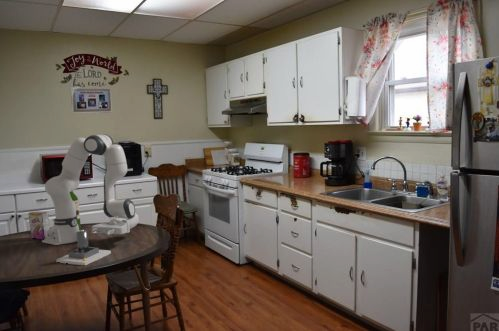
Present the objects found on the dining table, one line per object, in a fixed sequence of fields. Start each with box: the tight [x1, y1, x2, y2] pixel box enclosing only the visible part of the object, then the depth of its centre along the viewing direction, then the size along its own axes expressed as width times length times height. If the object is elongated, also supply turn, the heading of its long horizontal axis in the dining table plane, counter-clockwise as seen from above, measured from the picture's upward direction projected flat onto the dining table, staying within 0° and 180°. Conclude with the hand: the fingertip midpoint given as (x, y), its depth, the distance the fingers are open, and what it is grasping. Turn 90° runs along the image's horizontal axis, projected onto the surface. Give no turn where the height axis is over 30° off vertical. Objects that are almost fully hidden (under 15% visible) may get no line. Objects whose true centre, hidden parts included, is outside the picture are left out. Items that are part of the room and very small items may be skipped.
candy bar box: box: [27, 210, 51, 240], centre depth 242 cm, size 11×5×16 cm, turn 71°
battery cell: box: [76, 229, 90, 253], centre depth 201 cm, size 5×5×13 cm
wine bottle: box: [70, 191, 82, 230], centre depth 260 cm, size 9×9×32 cm
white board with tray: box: [55, 246, 112, 266], centre depth 201 cm, size 18×18×4 cm
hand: (99, 232), depth 211 cm, fingers open, 8 cm apart
